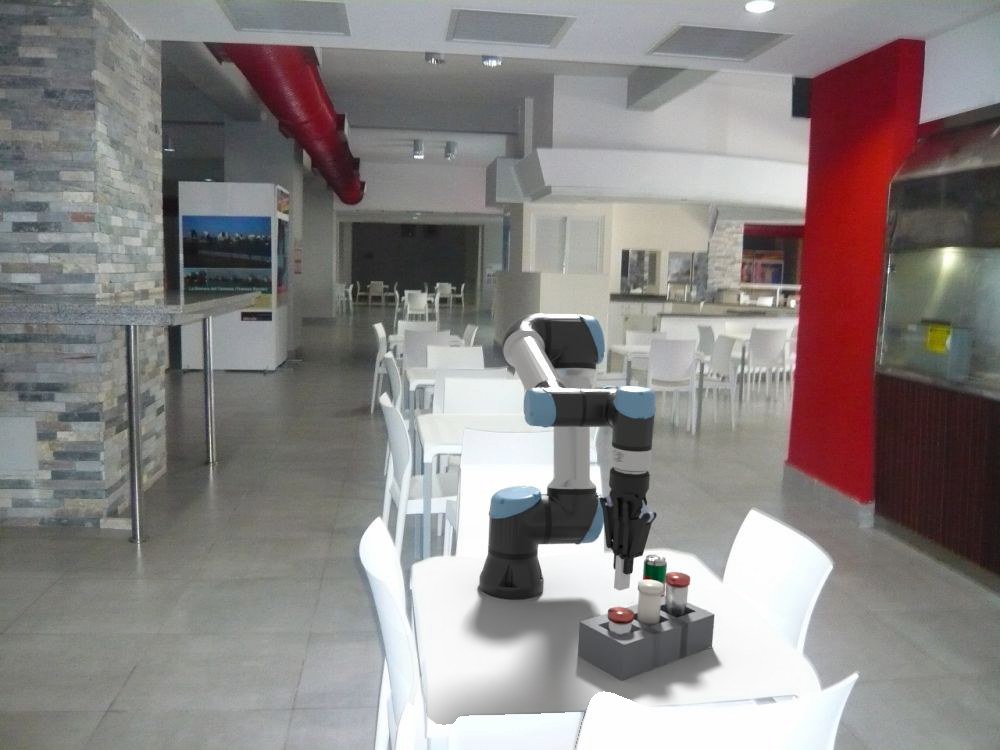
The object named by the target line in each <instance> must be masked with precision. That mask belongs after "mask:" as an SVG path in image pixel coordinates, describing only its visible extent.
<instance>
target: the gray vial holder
mask: <svg viewBox="0 0 1000 750" xmlns="http://www.w3.org/2000/svg"><path fill="white" fill-rule="evenodd" d="M664 607H665V596H664V597H661V607H660V621H659V624H656V625H653V626H650V627H649V626H647V625H645V624H643V623H640V622H638V621H637V613H638V603H637V604H634V605H631V606H628V607H627V606H626V608H628V609H630V610H632V611H633V612H634V620H633V621H632V627H631V633H629V634H626V635H623V636H619V635H617V634H615V633H613V632H611V631H609V630H608V626H609V619H608V612H607V613H605V614H601V615H598V616H594V617H591V618H588V619H584V620H580V621H579V629H578V632H579V633H578V645H577V646H578V647H577V656H578V657H580V658H581V659H583V660H585V661H586V662H588V663H590V664H592V665H594V666H595V667H597V668H598V669H600V670H602V671H604V672H606V673H608V674H609V675H611V676H613V677H615V678H617V679H618V680H620V681H624V680H627V679H629V678H632V677H635V676H638V675H641V674H644V673H645V672H648V671H649V672H650V671H651V670H653V669H656V668H659V667H662V666H665V665H668V664H670V663H673V662H675V661H678V660H681V659H683V658H686V657H688V656H689V657H690V656H692V655H694V654H697V653H699V652H702V651H704V650H707V649H711V648H712V647H713V638H714V628H715V627H714V626H715V625H714V624H715V613H712V612H710V611H708V610H705V609H704V608H701V607H699V606H697V605H694V604H692V603H689V602H687V609H686V615H684V616H681V617H677V618H676V617H674V616H672V615H670V614H668V613H665V612H664Z"/></svg>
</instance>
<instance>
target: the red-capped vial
mask: <svg viewBox="0 0 1000 750" xmlns="http://www.w3.org/2000/svg"><path fill="white" fill-rule="evenodd" d="M607 613H608V619H609V626H608V630H609V631H611V632H613V633H615V634H617V635H619V636H623V635H626V634H629V633H631V627H632V621H633V620H634V612H633V611H632V610H630V609H628V608H627V607H622V606H614V607H610V608H609V609H608V610H607Z"/></svg>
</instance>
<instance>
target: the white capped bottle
mask: <svg viewBox="0 0 1000 750" xmlns="http://www.w3.org/2000/svg"><path fill="white" fill-rule="evenodd" d="M663 587H664V585H663V584H662V583H661V582H659V581H655V580H643V579H640V580H638V582H637V591H638V600H637V604H638V613H637V621H638V622H640V623H643V624H645V625H647V626H649V627H650V626H653V625H656V624H659V621H660V607H661V594H662V593H663Z"/></svg>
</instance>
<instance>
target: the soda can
mask: <svg viewBox="0 0 1000 750" xmlns="http://www.w3.org/2000/svg"><path fill="white" fill-rule="evenodd" d="M667 566H668V563H667V560H666V557H665V556H663V555H660V554H648V555H646V556H645V559H644V561H643V569H642V571H643V572H642V580H655V581H659V582H661V583H662V584H663V585H664V587H663V593H662V594H661V597H664V596H665V593H666V582H665V575H666V574H667V570H668V567H667Z"/></svg>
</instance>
